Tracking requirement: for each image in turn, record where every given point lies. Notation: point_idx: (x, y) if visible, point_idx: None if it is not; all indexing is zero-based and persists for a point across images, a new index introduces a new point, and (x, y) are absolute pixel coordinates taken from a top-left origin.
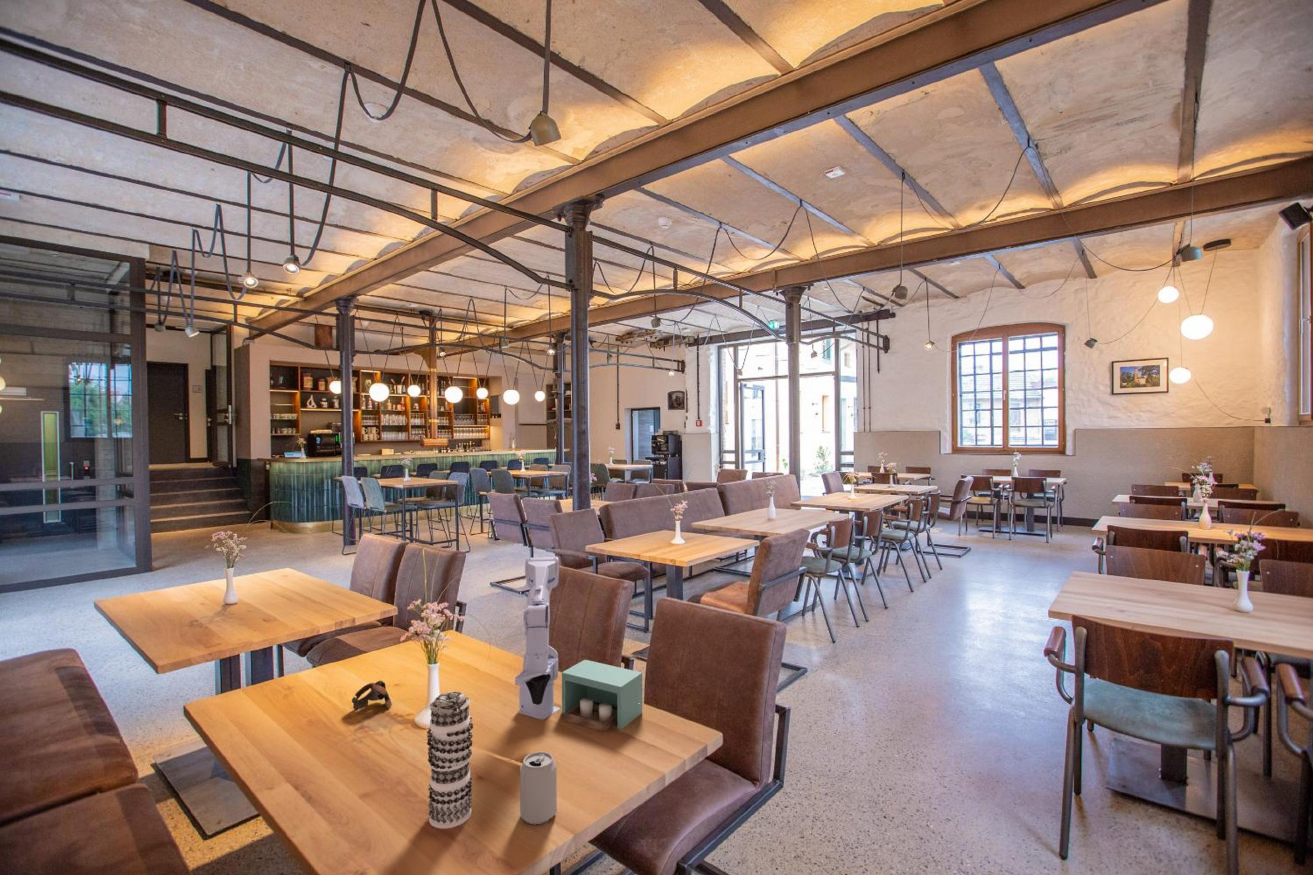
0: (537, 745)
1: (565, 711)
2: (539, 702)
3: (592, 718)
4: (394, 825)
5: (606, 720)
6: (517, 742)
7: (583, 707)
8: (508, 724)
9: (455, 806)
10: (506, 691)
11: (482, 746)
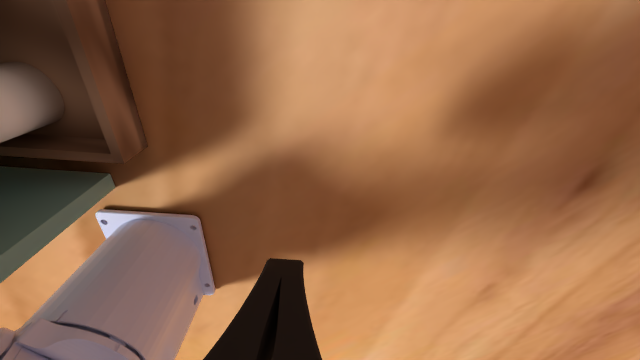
0: (341, 138)
1: (98, 181)
2: (297, 269)
3: (26, 43)
4: None
5: None
6: (352, 206)
7: (14, 105)
8: None
9: None
10: None
11: (409, 268)
